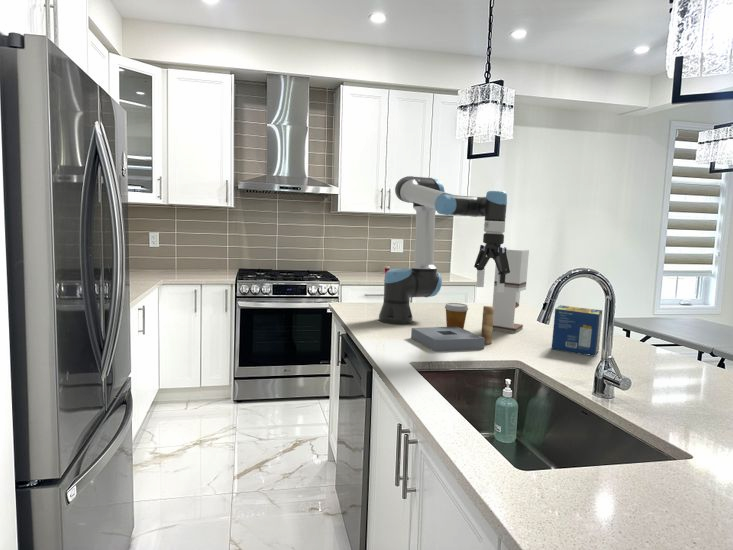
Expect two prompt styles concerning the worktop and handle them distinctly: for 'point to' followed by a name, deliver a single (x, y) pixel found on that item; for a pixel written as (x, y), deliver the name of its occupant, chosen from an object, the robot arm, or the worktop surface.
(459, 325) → the disposable coffee cup
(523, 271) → the white banded pillar
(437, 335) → the socket block
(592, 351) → the protein box
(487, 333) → the oak peg
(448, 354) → the worktop surface
